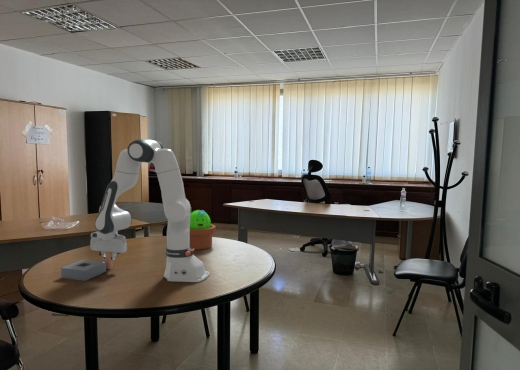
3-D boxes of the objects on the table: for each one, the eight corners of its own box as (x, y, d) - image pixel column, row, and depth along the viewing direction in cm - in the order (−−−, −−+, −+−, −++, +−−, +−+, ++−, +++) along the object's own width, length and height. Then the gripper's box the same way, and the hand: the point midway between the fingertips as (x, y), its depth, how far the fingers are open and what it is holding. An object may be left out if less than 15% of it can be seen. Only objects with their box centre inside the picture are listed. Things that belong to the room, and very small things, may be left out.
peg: (114, 267, 181) (113, 245, 180) (109, 269, 178) (109, 247, 177) (108, 266, 182) (108, 244, 181) (104, 268, 179) (103, 246, 178)
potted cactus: (180, 243, 234) (180, 207, 232) (212, 241, 240) (212, 206, 238) (183, 251, 213) (183, 212, 211) (218, 249, 219) (218, 211, 217)
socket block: (105, 271, 175) (105, 262, 174) (85, 280, 161) (85, 270, 161) (83, 268, 178) (83, 259, 178) (61, 277, 165) (61, 267, 165)
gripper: (129, 233, 179) (129, 259, 180) (96, 231, 184) (97, 256, 185) (121, 236, 173) (122, 263, 174) (88, 233, 178) (88, 259, 179)
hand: (109, 259), depth 180 cm, fingers closed on peg, 3 cm apart
